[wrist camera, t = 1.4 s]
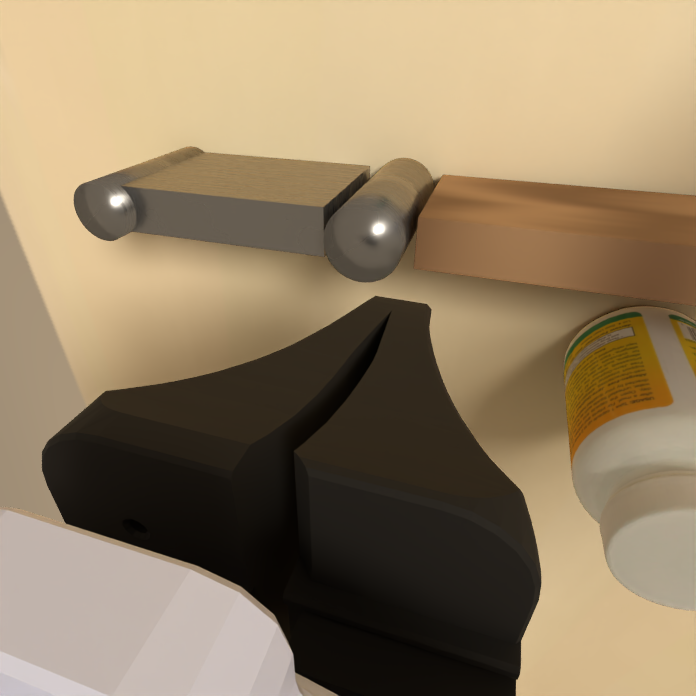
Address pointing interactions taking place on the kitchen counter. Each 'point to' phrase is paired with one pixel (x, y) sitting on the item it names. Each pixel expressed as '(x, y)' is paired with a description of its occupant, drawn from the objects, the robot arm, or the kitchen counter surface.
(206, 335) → the kitchen counter surface
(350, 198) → the fence
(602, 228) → the brown wooden block
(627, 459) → the supplement bottle
